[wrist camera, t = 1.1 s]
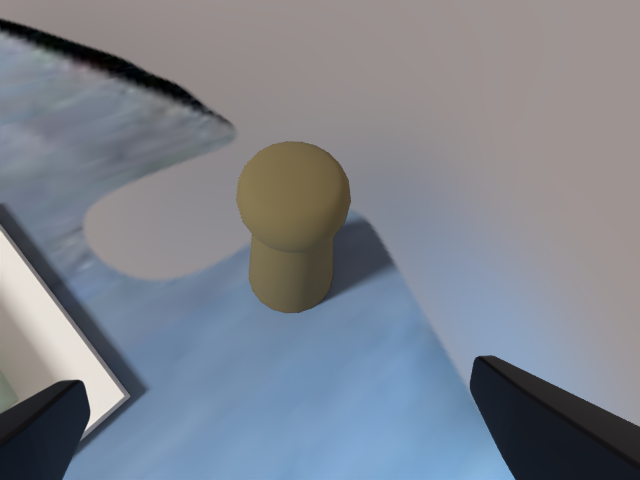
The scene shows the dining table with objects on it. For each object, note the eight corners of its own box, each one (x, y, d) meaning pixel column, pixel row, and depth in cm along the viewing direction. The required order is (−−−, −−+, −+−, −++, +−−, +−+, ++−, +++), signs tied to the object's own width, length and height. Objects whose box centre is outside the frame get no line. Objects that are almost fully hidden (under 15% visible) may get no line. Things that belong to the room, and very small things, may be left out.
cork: (232, 290, 22) (189, 197, 12) (273, 222, 25) (265, 103, 15) (312, 328, 21) (334, 261, 11) (345, 254, 24) (385, 150, 14)
